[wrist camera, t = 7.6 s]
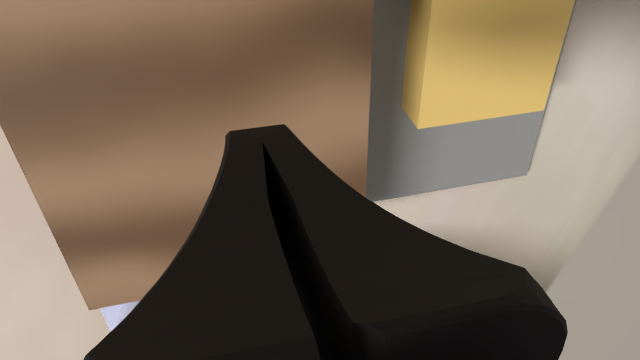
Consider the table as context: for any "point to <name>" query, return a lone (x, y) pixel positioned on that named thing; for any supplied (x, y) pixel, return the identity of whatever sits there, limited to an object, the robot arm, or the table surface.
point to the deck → (168, 113)
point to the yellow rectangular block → (480, 58)
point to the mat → (432, 128)
